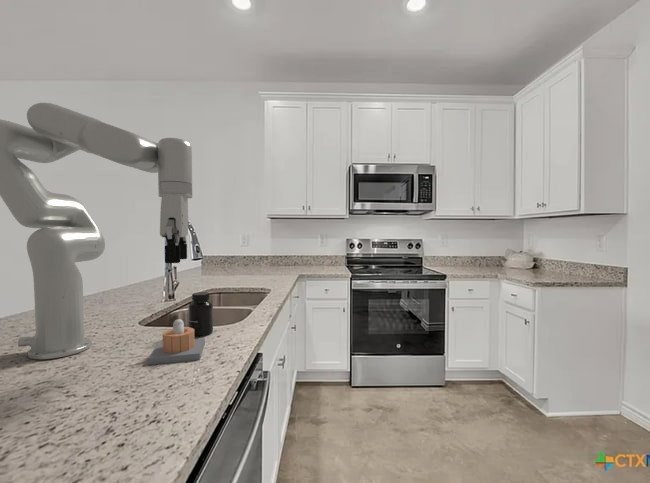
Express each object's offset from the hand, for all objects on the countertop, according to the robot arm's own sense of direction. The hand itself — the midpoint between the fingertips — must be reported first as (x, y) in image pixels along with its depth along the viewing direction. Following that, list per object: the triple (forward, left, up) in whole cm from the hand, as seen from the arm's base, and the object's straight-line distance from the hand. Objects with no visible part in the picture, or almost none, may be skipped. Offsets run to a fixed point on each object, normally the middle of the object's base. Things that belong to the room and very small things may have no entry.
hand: (176, 260), depth 79 cm
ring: (0, 0, -22) cm, 22 cm away
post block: (0, 0, -23) cm, 23 cm away
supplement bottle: (+4, +15, -23) cm, 28 cm away
